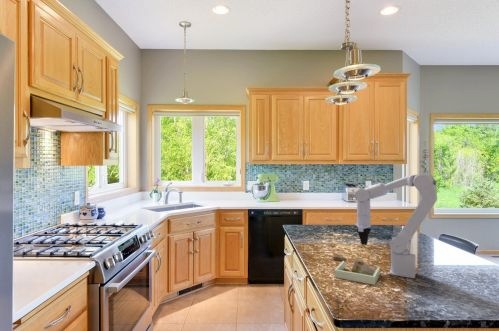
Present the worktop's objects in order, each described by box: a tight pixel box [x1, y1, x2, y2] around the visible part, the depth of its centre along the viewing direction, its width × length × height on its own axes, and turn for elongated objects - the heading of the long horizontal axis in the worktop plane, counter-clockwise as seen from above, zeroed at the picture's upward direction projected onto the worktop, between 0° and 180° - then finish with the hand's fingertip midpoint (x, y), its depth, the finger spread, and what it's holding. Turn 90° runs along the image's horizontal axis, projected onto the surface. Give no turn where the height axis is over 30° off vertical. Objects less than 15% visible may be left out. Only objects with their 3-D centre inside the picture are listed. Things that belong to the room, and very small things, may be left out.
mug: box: [350, 257, 377, 276], centre depth 124 cm, size 8×10×10 cm
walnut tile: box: [332, 253, 345, 262], centre depth 145 cm, size 5×5×2 cm
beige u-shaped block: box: [333, 260, 381, 286], centre depth 124 cm, size 16×13×3 cm
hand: (364, 244), depth 135 cm, fingers closed
